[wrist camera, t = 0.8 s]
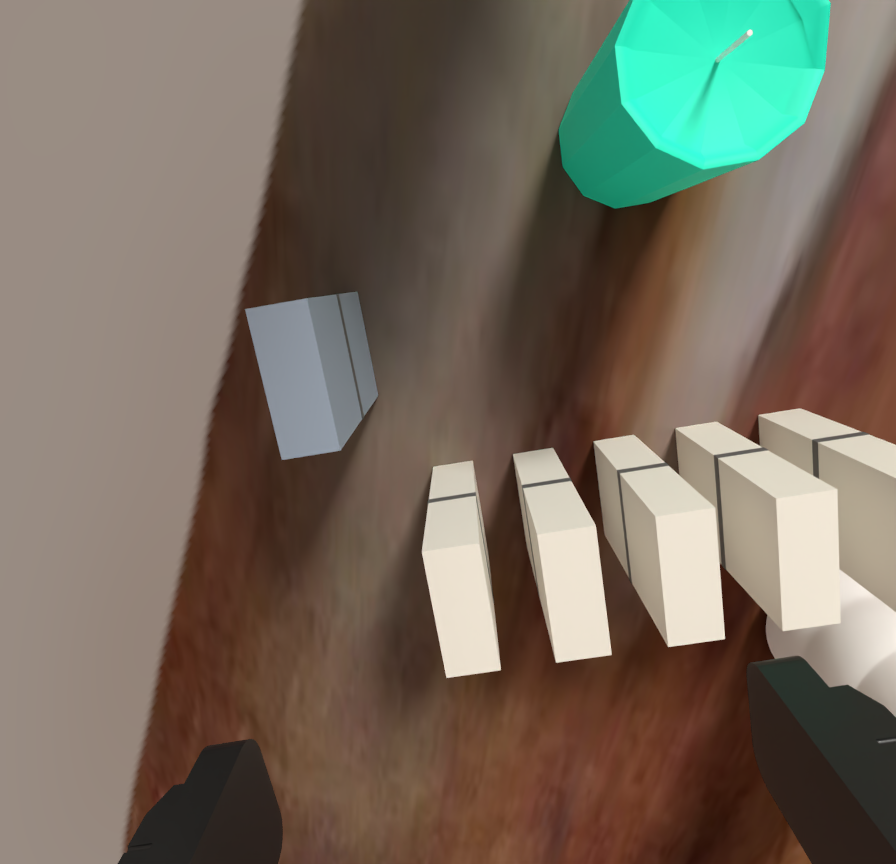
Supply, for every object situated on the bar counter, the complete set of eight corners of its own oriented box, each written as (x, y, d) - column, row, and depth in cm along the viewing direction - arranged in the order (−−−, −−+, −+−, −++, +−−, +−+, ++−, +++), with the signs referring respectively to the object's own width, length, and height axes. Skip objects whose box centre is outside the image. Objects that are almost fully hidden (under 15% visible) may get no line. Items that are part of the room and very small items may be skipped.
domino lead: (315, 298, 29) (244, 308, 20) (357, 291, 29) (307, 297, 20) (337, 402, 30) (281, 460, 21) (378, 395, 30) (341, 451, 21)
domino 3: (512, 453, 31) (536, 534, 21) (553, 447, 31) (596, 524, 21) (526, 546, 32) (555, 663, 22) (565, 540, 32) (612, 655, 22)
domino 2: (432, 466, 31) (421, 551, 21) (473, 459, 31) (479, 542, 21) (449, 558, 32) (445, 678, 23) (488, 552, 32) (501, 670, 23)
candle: (634, 236, 28) (757, 207, 17) (530, 153, 28) (581, 63, 16) (724, 119, 27) (923, 0, 16) (617, 29, 26) (741, -166, 15)
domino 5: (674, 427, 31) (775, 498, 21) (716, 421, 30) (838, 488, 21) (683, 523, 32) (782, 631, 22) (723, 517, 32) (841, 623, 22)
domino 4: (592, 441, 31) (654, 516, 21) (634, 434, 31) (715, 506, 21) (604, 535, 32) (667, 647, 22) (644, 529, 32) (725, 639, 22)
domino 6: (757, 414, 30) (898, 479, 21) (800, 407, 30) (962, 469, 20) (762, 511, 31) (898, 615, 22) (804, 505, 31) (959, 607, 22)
